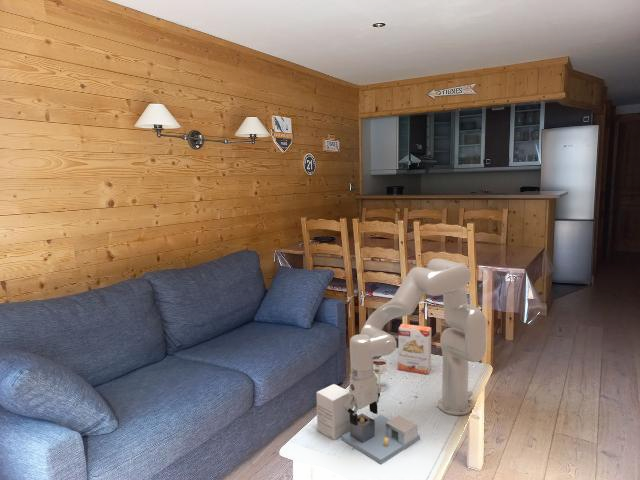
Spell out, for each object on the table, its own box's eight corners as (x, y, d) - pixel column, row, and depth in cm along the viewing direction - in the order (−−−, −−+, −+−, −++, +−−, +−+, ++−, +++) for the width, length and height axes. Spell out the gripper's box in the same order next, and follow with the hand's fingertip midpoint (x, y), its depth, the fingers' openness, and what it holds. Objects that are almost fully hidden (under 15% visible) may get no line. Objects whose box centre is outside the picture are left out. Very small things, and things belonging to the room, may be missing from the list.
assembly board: (380, 418, 172) (380, 397, 171) (419, 439, 158) (420, 416, 157) (341, 440, 159) (341, 416, 158) (380, 464, 146) (380, 439, 144)
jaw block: (374, 436, 158) (374, 420, 157) (362, 443, 154) (362, 426, 153) (362, 429, 163) (362, 413, 162) (350, 435, 159) (349, 419, 158)
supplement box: (334, 420, 171) (333, 382, 169) (352, 430, 165) (351, 391, 162) (316, 430, 165) (315, 391, 163) (333, 440, 159) (333, 400, 156)
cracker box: (397, 370, 212) (397, 327, 208) (400, 365, 217) (401, 322, 214) (428, 375, 206) (429, 330, 203) (430, 369, 212) (431, 326, 208)
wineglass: (386, 393, 191) (386, 365, 189) (370, 391, 192) (370, 364, 190) (387, 385, 197) (387, 359, 196) (372, 384, 199) (371, 358, 197)
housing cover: (398, 427, 163) (399, 415, 163) (417, 436, 157) (417, 424, 156) (385, 434, 159) (385, 422, 158) (404, 445, 153) (404, 432, 152)
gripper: (351, 384, 146) (353, 433, 149) (387, 366, 157) (389, 412, 160) (335, 376, 152) (338, 424, 155) (371, 360, 163) (373, 404, 166)
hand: (363, 418), depth 158 cm, fingers open, 9 cm apart
